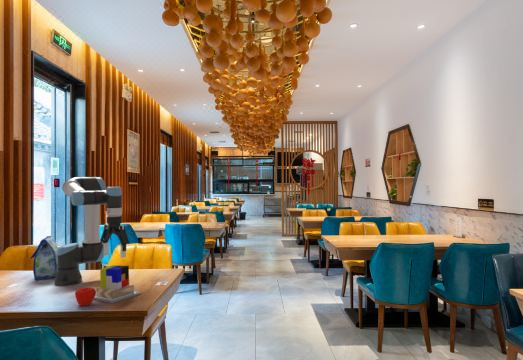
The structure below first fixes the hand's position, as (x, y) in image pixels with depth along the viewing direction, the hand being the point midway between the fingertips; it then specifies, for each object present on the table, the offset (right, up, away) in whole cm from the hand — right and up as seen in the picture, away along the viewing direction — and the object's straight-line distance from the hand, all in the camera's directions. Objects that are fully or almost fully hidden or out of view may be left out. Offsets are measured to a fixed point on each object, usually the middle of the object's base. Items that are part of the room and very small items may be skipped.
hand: (114, 256), depth 198 cm
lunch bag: (-65, -24, +51) cm, 86 cm away
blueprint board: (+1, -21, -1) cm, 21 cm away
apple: (-9, -21, -15) cm, 27 cm away
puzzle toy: (0, -16, -1) cm, 16 cm away
